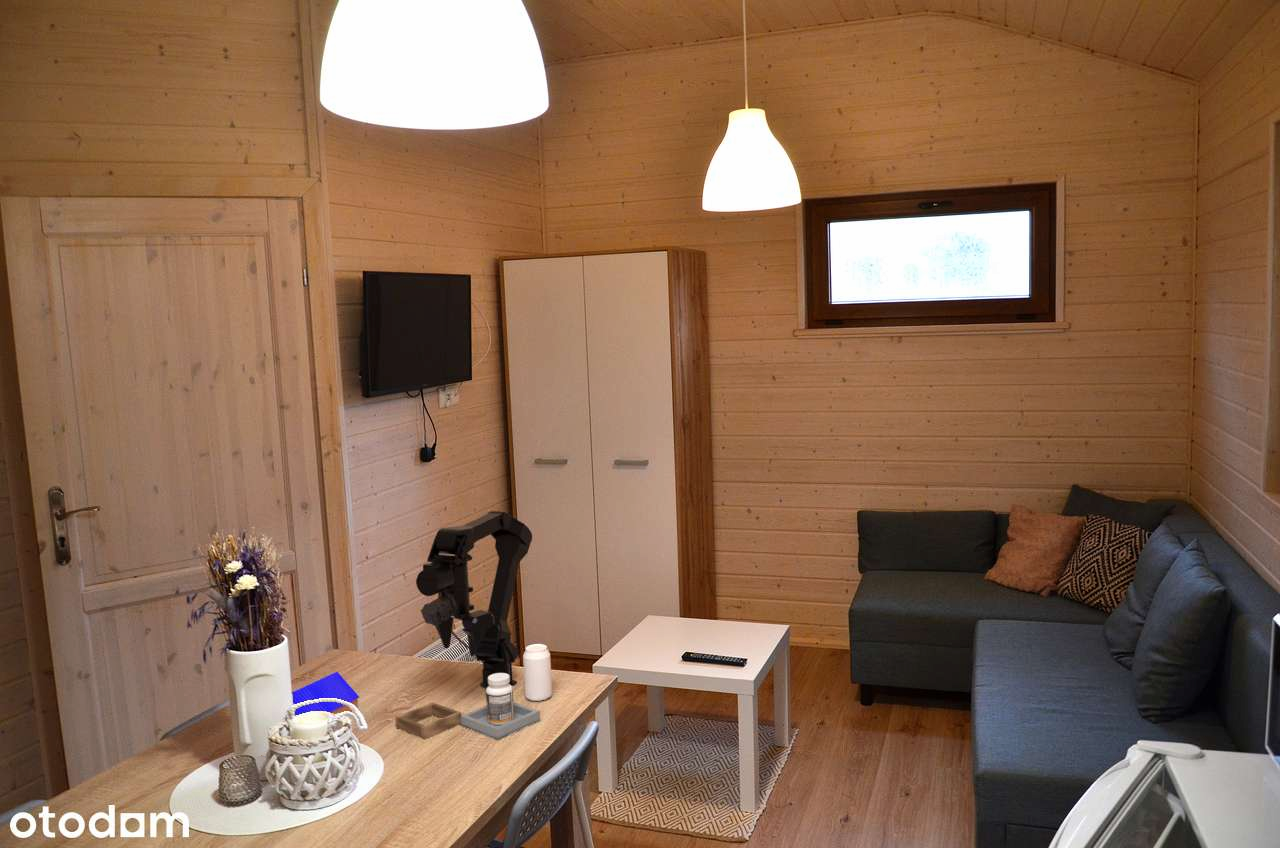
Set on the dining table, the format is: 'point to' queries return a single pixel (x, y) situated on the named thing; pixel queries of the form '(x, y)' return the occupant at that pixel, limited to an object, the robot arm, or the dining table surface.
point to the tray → (480, 724)
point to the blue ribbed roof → (326, 695)
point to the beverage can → (537, 672)
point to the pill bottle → (499, 699)
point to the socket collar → (426, 731)
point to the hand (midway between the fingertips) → (459, 651)
